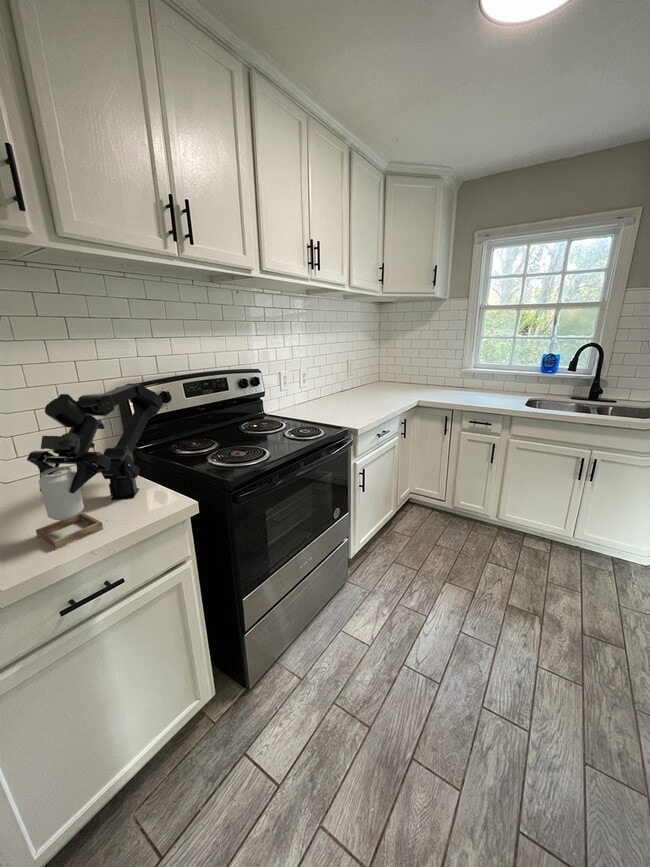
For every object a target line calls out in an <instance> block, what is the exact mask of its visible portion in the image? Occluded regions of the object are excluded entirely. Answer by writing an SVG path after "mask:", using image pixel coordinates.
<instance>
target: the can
mask: <svg viewBox="0 0 650 867" xmlns="http://www.w3.org/2000/svg"><path fill="white" fill-rule="evenodd" d="M76 472H77V471H74V470H73V468H72V467H71V466H59V467H56V468H52V469H49V470H46V471H44V472H42V473H41V478H40V477H39V479H38V485H39V490H40V489H41V495H42V499H43V503H44V507H45V511H46V514H47V517H48V518H50V519H52V520H55V521H60V520H65V519H69V518H72V517H74V516H76V515H78V514H79V513H81V512H82V511H83V510H84V508H85V505H84V501H83V496H82V493H81V487H80V488H79V489H78V490H77V491H76V492H75V493H70V488H71V485H72V482H73V479H74V477H75V474H76Z"/></svg>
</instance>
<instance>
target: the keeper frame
mask: <svg viewBox="0 0 650 867" xmlns="http://www.w3.org/2000/svg"><path fill="white" fill-rule="evenodd" d="M79 522H83V523H85V524H87V525H88V526H86V527H84V528H81V529H78V530H76V531H73V532H72V533H70V534H66V535H64V536H62V537H60V538H55V537H54V536H52V535H51V534H52V533H55V532H57V531H59V530H62V529H64V528H67V527H69V526H72V525H74V524H77V523H79ZM103 526H104V525H103V522H102V521H100V520H99V519H96V518H94V517H92V516H90V515H88V514H86V513H84V512H82V511H81V512H80V513H79V514H78V515H76V516H74V517H72V518H69V519H65V520H56V522H52V523H50V524H48V525H44V526H42V527H40V528H37V529H35V534H36V536H37V538H38V539H40V540H41V539H42V541H43V542H44V541H45V542H44V543H45V544H47V543H48V544H47V545H49V544H50V545H51V547H52V546H53V547H54V548H53V547H52V548H53V549H55V548H56V549H57V548H59V547H61V548H63V547H62V546H64V545H66V544H68V543H70V544H72V543H71V542H73V541H75V540H77V541H79V540H81V538H82V539H84V538H86V537H88V536H87V535H89V536H90V534H91V535H93V534H95V533H98V532H99V530H100V531H102V530H104V527H103ZM97 531H98V532H97ZM85 536H86V537H85ZM83 537H84V538H83ZM78 539H79V540H78ZM75 542H76V541H75ZM73 543H74V542H73ZM50 545H49V546H50ZM68 545H69V544H68ZM66 546H67V545H66ZM64 547H65V546H64ZM56 549H55V550H56ZM59 549H60V548H59ZM57 550H58V549H57Z"/></svg>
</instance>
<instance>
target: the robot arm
mask: <svg viewBox="0 0 650 867" xmlns="http://www.w3.org/2000/svg"><path fill="white" fill-rule="evenodd" d="M77 399H78V400H74V399H73V397H72V396H71V395H69V394H68V393H61V394H59V396H58V397H57V398H54V399H52V400H51V401H50V402H49V403H47V404H46V406H45V407H44V413H45V414H46V415H47V417H49V418H51V419H53V420H54V421H56V422H57V423H59V424H60V425H62V426H63V427H65V428H69V430H68V432H65V433H63V434H62V435H42V436H41V442H40V449H41V450H34V451H31V452H29V454H28V456H27V458H26V461H27V462H29V463H31V464H33V465H34V466H37V468H38V470H39V479H40V478H41V473H42V472H44V471H46V470H49V469H52V468H56V467H60V464H63V465H75V466H76V471H75V472H76V474H75V477H74V479H73V482H72V485H71V488H70V493H75V492H76V491H77V490H78V489H79V488H80V489H81V487H83V486H84V485H85V484H86V483H87V482H88V481H90V479H92V478H93V477H94V476H96V475H97V474H100V473H101V475H102V477H103V478H104V480H109V484H108V487H109V492H110V496H111V498H110V500H111V501H114V500H115V501H116V500H124V499H133V498H135V496H137V494H138V492H139V491H140V488H139V487H138V486H137V481H136V478H138V476H139V475H140V469H141V468H140V467H139V466H138V465H136V464H135V460H134V454H133V453H134V450H135V448H136V446H137V444H138V442H139V440H140V439H141V436H142V434H143V432H144V430H145V428H146V426H147V424H148V422H149V420H150V419H151V418H153V417H154V416H156V415H157V414H158V413H159V411H160V410H161V408H162V406H163V399H162V397H161V396H160V395H159V394H157V393H156V392H155V391H153V390H152V389H149V388H147V387H146V386H144V385H143V384H142V383H130V382H129V383H127V384H125V385H123V386H120V387H118V388H115V389H112V390H109V391H106V392H104V393H94V394H83V395H81V396H79V397H78V398H77ZM128 401H129V402H130V403H131V404H132V409H133V414H132V416H131V418H130V419H129V421H128V423H127V425H126V426H125V429H124V430H123V432H122V434H121V436H120V438H119V440H118V442H117V444H116V446H114V447H106V448H105V449H104V451H103V453H102V452H100V451H90V448H91V449H94V448H95V446H96V444H95V443H93V440H94V438H95V436H96V434H97V431H98V430H105V425H104V423H103V422H102V419H97V418H95V417H107V416H108V415H109V414H111V413H113V411H115V407H116V406H118V405H120V404H122V403H126V402H128ZM94 416H95V417H94ZM45 449H46V450H45ZM47 450H52V453H51V452H49V451H47ZM54 454H57V455H54ZM39 492H41V489H40V488H39ZM41 493H42V492H41Z"/></svg>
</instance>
